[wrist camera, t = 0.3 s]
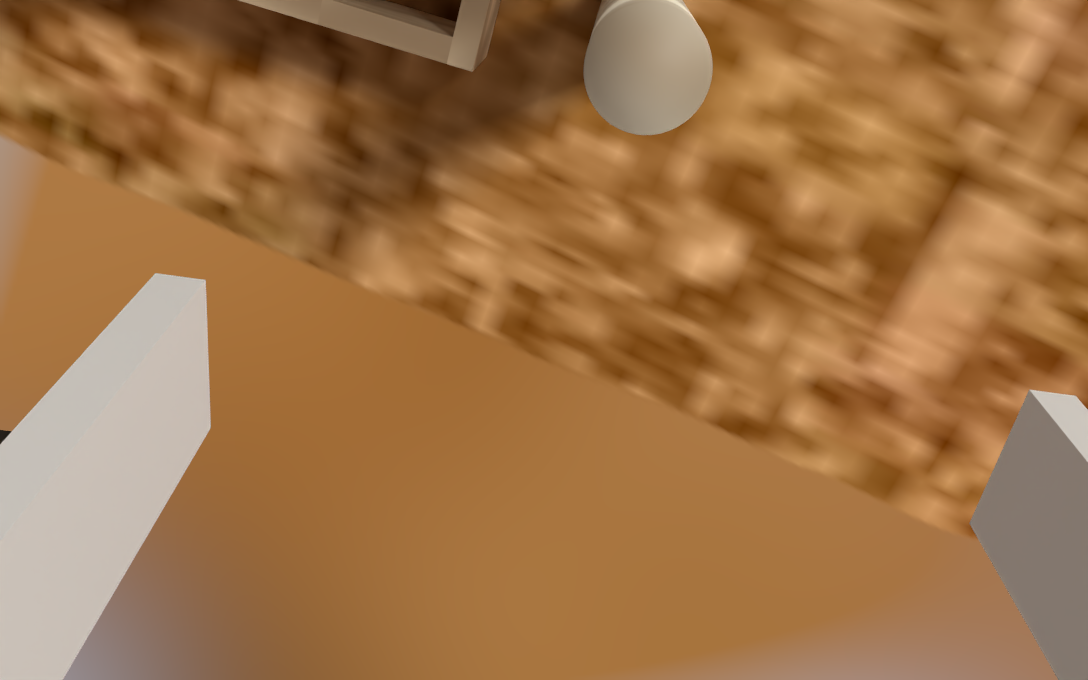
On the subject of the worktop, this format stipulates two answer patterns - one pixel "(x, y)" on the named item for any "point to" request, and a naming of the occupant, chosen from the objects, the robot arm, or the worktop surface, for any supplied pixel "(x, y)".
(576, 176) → the worktop surface
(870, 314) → the worktop surface
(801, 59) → the worktop surface
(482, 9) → the stool
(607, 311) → the worktop surface
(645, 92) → the stool leg
